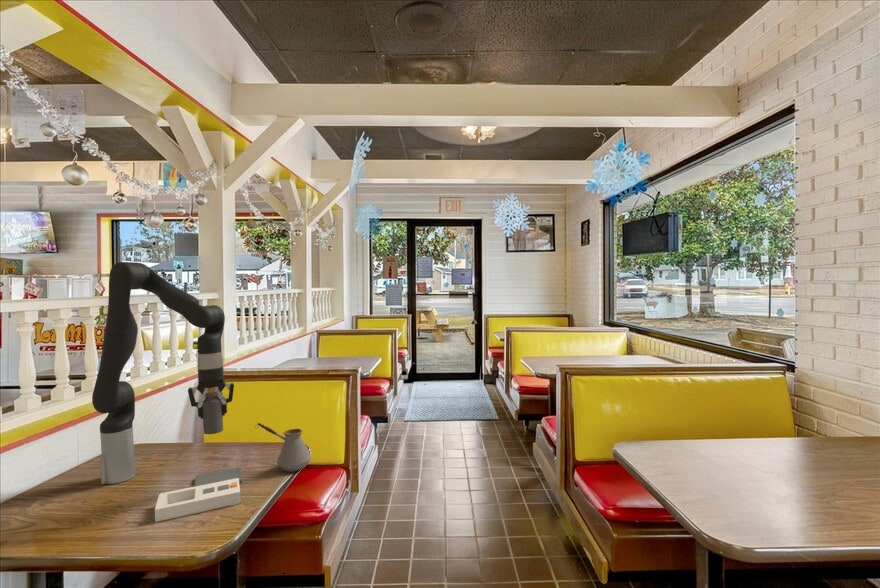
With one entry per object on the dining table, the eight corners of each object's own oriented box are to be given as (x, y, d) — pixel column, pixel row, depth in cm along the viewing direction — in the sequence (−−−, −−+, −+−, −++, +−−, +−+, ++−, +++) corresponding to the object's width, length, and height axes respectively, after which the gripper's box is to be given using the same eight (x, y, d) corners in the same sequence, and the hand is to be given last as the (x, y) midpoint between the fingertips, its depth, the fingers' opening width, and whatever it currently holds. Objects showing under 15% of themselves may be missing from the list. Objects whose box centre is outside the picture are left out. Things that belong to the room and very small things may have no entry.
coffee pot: (317, 462, 168) (315, 421, 167) (298, 475, 157) (296, 432, 157) (269, 457, 175) (267, 417, 174) (247, 469, 164) (245, 427, 163)
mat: (194, 493, 146) (194, 489, 146) (196, 478, 157) (195, 475, 157) (242, 483, 152) (241, 480, 152) (240, 470, 163) (240, 466, 163)
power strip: (155, 522, 129) (154, 507, 129) (160, 504, 139) (159, 491, 139) (240, 503, 139) (240, 489, 139) (239, 488, 149) (238, 476, 149)
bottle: (215, 435, 149) (212, 389, 149) (199, 434, 151) (197, 388, 150) (227, 428, 155) (225, 384, 155) (212, 428, 156) (209, 384, 156)
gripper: (234, 362, 158) (236, 410, 159) (186, 366, 153) (189, 416, 153) (234, 365, 152) (236, 416, 152) (184, 370, 146) (187, 423, 146)
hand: (212, 416), depth 153 cm, fingers closed on bottle, 6 cm apart
